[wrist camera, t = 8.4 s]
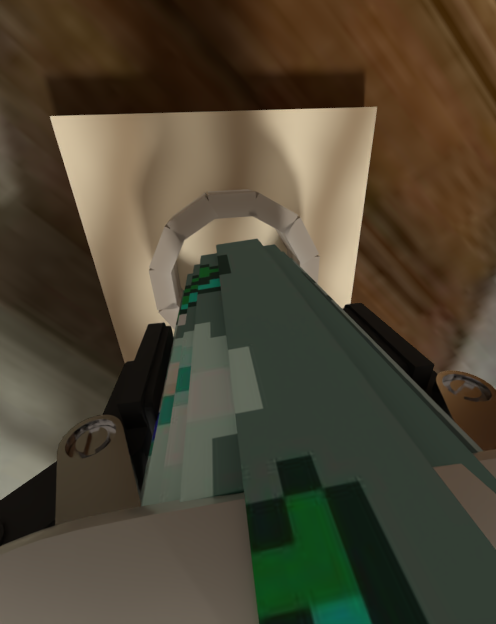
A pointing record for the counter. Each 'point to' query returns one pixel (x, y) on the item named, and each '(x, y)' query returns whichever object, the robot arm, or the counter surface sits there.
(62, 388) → the counter surface
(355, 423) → the can
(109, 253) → the socket board
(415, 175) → the counter surface
